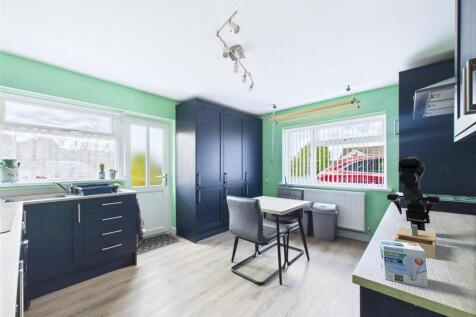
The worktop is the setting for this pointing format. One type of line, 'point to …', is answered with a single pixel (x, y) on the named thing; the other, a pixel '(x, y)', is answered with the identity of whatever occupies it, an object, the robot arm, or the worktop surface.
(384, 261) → the light bulb box
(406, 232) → the sliding lid
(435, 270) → the worktop surface
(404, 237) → the wooden box
